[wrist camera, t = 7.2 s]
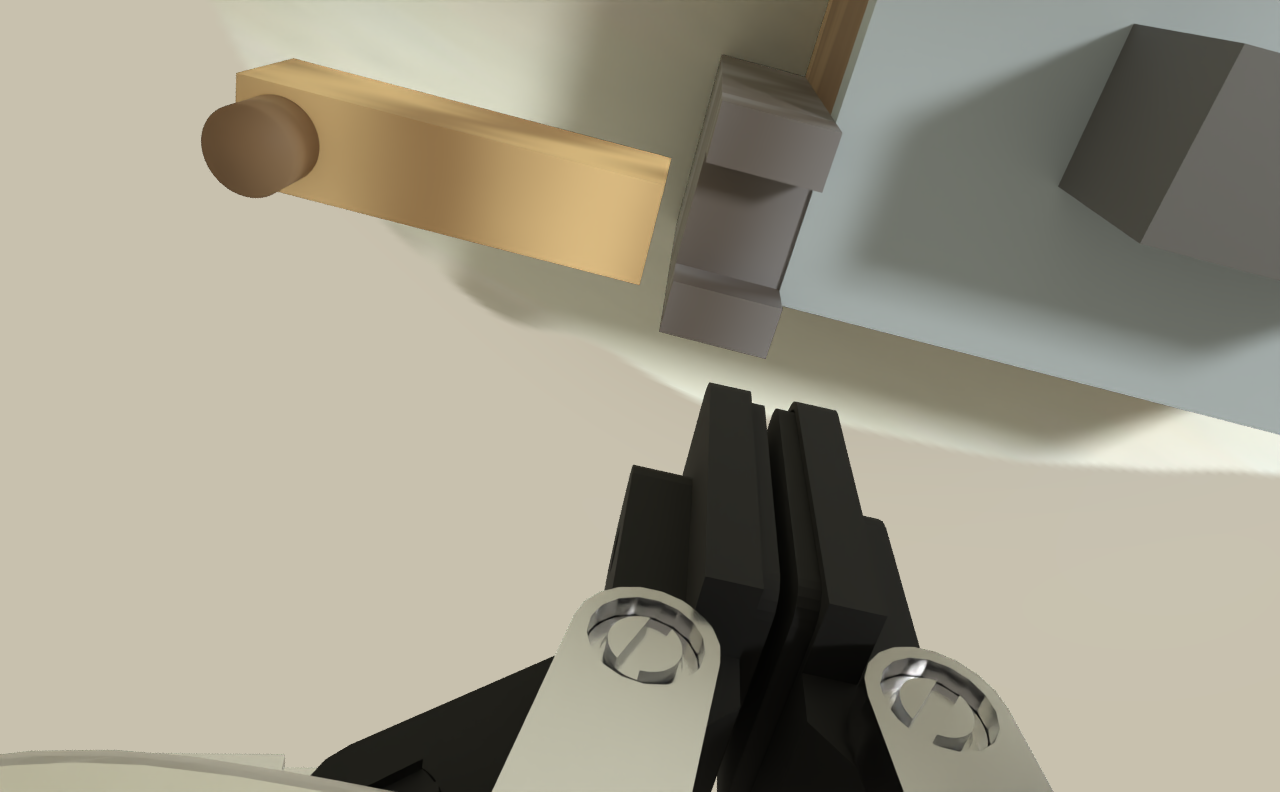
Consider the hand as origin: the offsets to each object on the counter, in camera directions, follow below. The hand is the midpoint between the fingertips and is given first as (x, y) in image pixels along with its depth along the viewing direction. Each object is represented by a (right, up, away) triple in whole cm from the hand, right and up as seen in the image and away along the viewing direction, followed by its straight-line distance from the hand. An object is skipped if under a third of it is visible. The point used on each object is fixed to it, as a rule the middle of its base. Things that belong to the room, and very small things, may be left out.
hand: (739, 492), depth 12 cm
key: (-6, +8, +12) cm, 15 cm away
